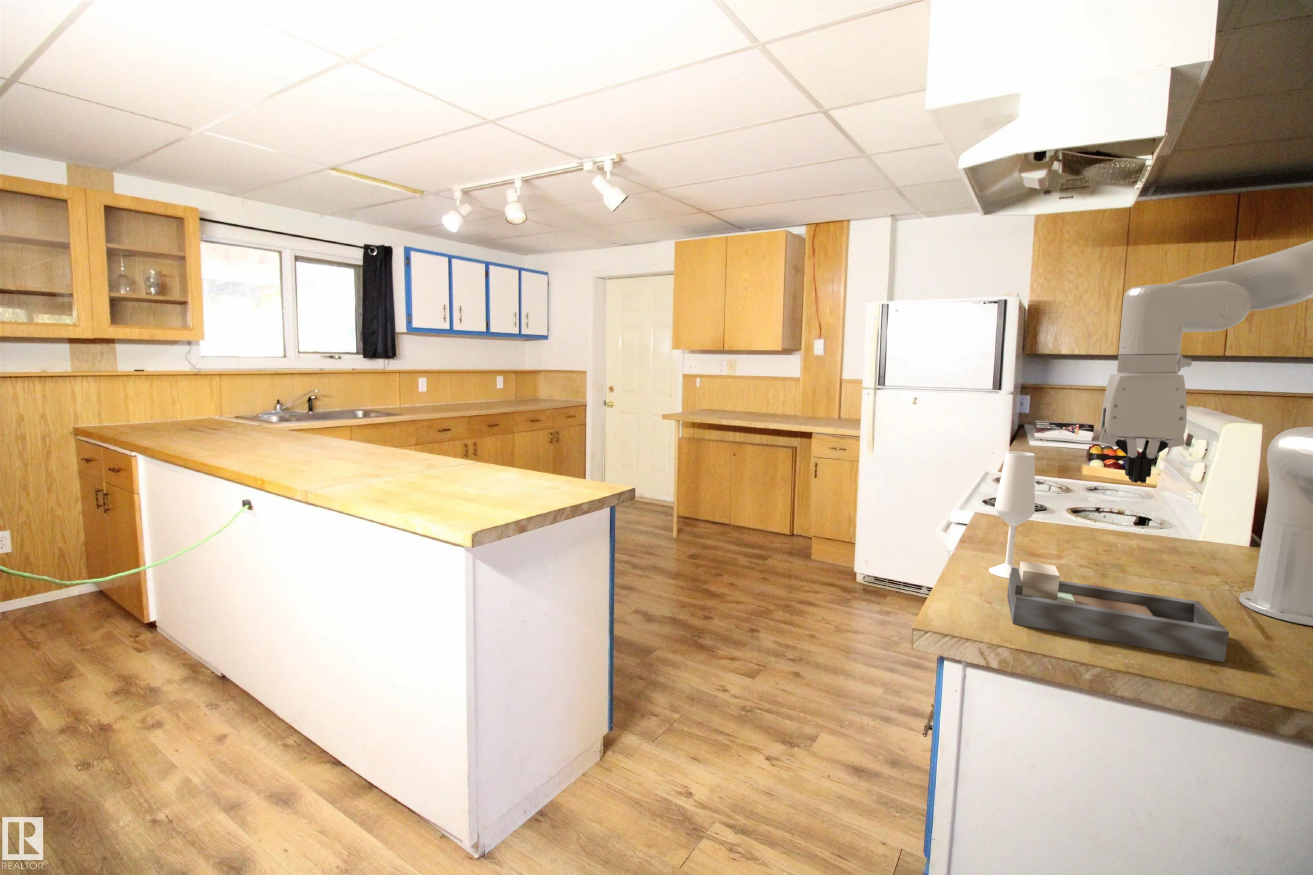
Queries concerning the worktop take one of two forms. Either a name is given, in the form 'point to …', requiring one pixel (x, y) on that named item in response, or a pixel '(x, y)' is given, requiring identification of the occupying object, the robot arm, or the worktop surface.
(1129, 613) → the tray
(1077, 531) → the worktop surface
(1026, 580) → the block
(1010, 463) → the champagne flute
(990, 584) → the worktop surface
